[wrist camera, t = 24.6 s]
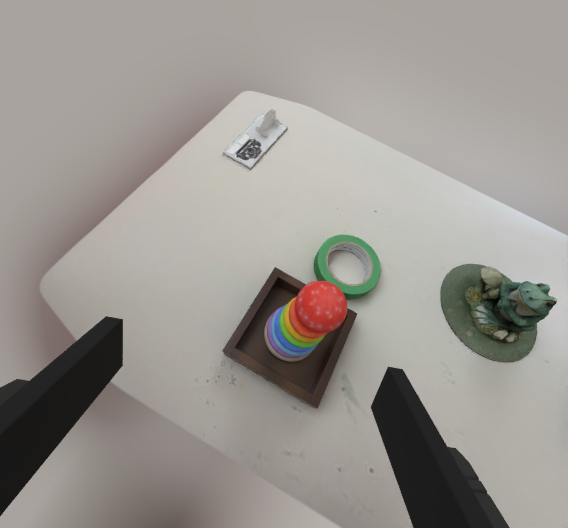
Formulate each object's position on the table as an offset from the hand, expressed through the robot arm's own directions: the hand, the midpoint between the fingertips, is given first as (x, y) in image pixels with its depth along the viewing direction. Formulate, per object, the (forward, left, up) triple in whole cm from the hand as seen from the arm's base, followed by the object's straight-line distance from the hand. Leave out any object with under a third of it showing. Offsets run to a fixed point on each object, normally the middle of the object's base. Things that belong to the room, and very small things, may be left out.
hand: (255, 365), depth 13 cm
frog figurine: (+32, +30, -28) cm, 52 cm away
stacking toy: (+2, +8, -27) cm, 28 cm away
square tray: (+3, +8, -27) cm, 29 cm away
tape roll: (+6, +23, -28) cm, 37 cm away
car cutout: (-23, +41, -28) cm, 54 cm away
